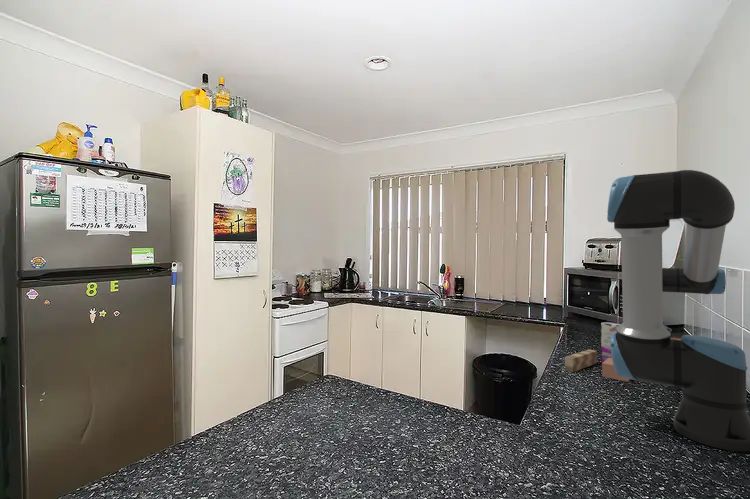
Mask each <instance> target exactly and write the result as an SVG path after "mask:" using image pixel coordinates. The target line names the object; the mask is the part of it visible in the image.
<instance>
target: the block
mask: <svg viewBox="0 0 750 499" xmlns="http://www.w3.org/2000/svg"><path fill="white" fill-rule="evenodd" d="M601 364H602V365H601V373H602V374H601V377H603V378H608V379H613V380H618V381H619V380H620V381H623V382H628V383H629V382H630V380H631V379H628V378H623V377H621V376H619V375H618V374H617V373H616V371H615V369H614V365H613V361H612V358H607V359H606V360H605V361H604V362H603V363H601Z"/></svg>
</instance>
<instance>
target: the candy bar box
mask: <svg viewBox="0 0 750 499" xmlns="http://www.w3.org/2000/svg"><path fill="white" fill-rule="evenodd" d="M621 324H622V323H616V322H610V321H605V322H601V323H600V346H601V348H600V352H601V354H600V358H601V360H600V361H601V364H602V363H603V362H604V361H605V360H606V359H607V358H612V355H611V344H610V337H611V334H613V333H617V327H618V326H619V325H621Z"/></svg>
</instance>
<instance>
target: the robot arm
mask: <svg viewBox="0 0 750 499" xmlns="http://www.w3.org/2000/svg"><path fill="white" fill-rule="evenodd" d="M735 206H736V205H735V199H734V197H733V195H732V193H731V191H730V189H728V187H727V185H725V184H724V183H723V182H722V181H720V180H719V179H718V178H716V177H715V176H713V175H711V174H709V173H706V172H703V171H700V170H694V169H682V170H677V171H676V170H675V171H666V172H656V173H645V174H633V175H627V176H623V177H618V178H616V179H615V180H614V181H613V182H612V185H611V187H610V191H609V196H608V204H607V211H606V212H607V217H606V218H607V219H606V220H607V222H609V223H611V224H612V223H614V224H613V230H615V231H616V232H617V233H618V234H620V236H621V237H620V241H621V282H622V283H621V287H622V290H621V291H622V292H621V293H622V296H621V297H622V323H620V324H621V325H619V326H618V327H617V333H613V334H611V337H610V344H611V355H612V361H613V365H614V369H615V371H616V373H617V374H618V375H619V376H621V377H623V378H628V379H630V380H633V381H636V382H644V383H650V384H657V385H663V386H669V387H675V388H679V389H680V388H681V392H682V394H681V396H682V397H681V400H680V402H679V405H678V407H677V408H676V412H675V413H674V415H673V428H674V430H675V431H676V432H677V433H678V434H680V435H682V436H683V437H685V438H688V439H689V440H691V441H694V442H696V443H699V444H702V445H705V446H707V447H711V448H714V449H715V448H716V449H720V450H726V451H731V452H750V416H749V415H750V414H749V413H748V410H747V404H748V403H747V402H748V401H747V370H748V366H747V362H746V353H745V351H744V350H743V349H742V348H740V347H739V346H738V345H736V344H733V343H731V342H727V341H724V340H720V339H715V338H712V337H707V336H703V335H702V336H701V335H697V334H696V335H695V334H694V335H693V334H684V335H683V334H682V335H683V336H682V335H681V336H682V338H681V341H680V340H672V339H671V337H672V336H671V333H672V332H673V328H671V327H668V326H666V325H665V323H664V311H663V310H664V307H663V306H664V305H663V304H664V301H663V300H664V299H663V298H664V296H663V293H681V294H682V293H683V294H702V295H703V294H704V295H721V294H724V292H726V285H727V279H726V272H725V270H723V269H721V268H719V266H720V260H721V255H722V249H723V244H724V237H725V232H726V227H727V225H728V224H729V223H731V221H732V219H733V217H734V215H735V209H736V208H735ZM680 219H682V221H683V222H684V223H685V225H686V228H685V242H684V243H685V244H684V245H685V246H684V260H683V263H684V264H683V267H677V268H676V267H675V268H674V267H672V268H671V267H663V233H665V232H666V231H667V230H668V229H670V223H671V222H670V220H680Z"/></svg>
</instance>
